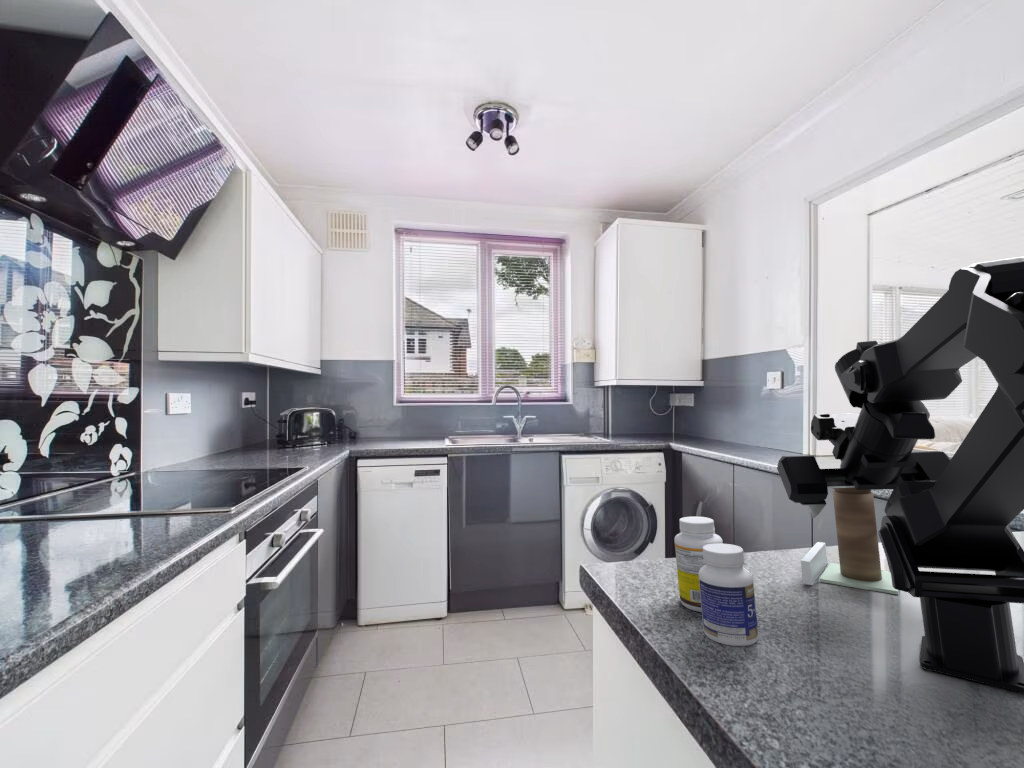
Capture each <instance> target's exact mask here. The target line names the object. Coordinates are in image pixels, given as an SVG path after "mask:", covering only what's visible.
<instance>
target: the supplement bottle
mask: <svg viewBox="0 0 1024 768" xmlns="http://www.w3.org/2000/svg"><path fill="white" fill-rule="evenodd" d="M678 523H679V533H677V534H676V535H675V536H674V539H673V540H674V550H675V561H676V571H677V581H678V582H677V583H678V584H677V585H678V595H679V600H680V603H681V604H682V605H683V606H684V607H685V608H686V609H688V610H690V611H694V612H698V613H702V607H701V596H700V585H699V570H700V569H701V568H702V567H703V566H705V565H706V563H705V562H704V558H703V549H702V548H703V546H705V545H707V544H717V543H721V544H724V541H723V539H722V537H721V536H720V535H719V534H717V533H716V531H715V530H716V528H715V521H714V519H712V518H710V517H706V516H684V517H681V518H679V522H678Z"/></svg>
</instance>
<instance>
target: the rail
mask: <svg viewBox="0 0 1024 768" xmlns="http://www.w3.org/2000/svg"><path fill="white" fill-rule="evenodd" d="M800 564H801V573H802V584H803V585H807V586H813V585H814V584H815V582H816V581H817V579H818V578H820V575H822V572H823V571H825V570H824V569H826V568H827V566H828V565H829V563H828V553H827V546H826V542H822V541H816V543H815V544H814V545H813V546H812V548H811V549H809V551H808V552H807V553H806V554H805V555H804V556H803V558H802V559H801V560H800Z"/></svg>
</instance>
